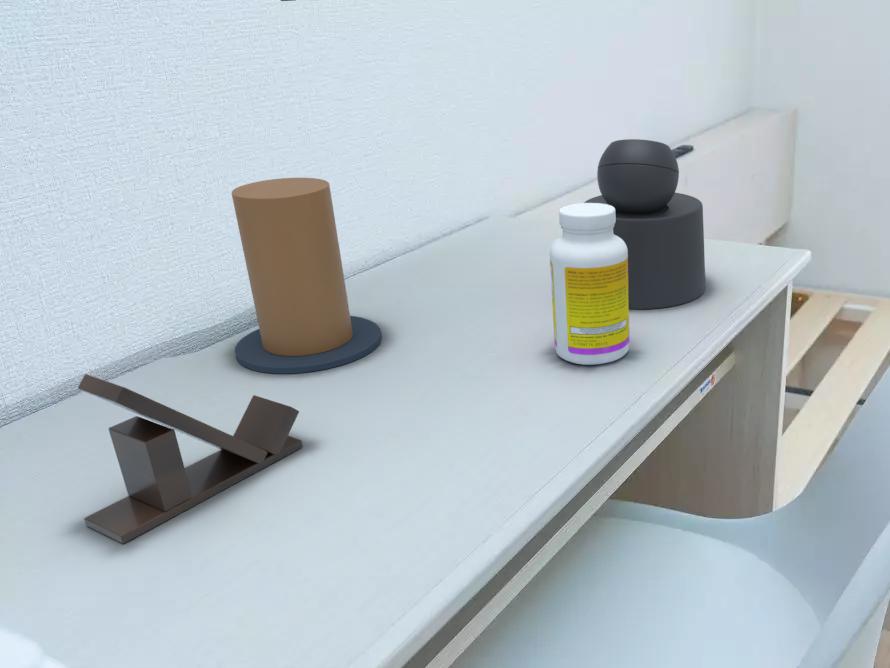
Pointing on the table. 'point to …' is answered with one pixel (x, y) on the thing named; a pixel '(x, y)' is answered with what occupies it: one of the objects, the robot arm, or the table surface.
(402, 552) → the table surface
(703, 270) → the gray pot with base
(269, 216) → the paper roll
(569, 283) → the supplement bottle
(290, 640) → the table surface
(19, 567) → the table surface
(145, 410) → the roll stand
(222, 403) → the table surface
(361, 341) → the mat
